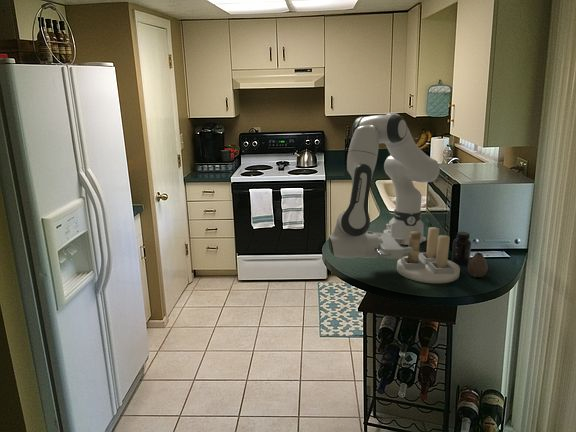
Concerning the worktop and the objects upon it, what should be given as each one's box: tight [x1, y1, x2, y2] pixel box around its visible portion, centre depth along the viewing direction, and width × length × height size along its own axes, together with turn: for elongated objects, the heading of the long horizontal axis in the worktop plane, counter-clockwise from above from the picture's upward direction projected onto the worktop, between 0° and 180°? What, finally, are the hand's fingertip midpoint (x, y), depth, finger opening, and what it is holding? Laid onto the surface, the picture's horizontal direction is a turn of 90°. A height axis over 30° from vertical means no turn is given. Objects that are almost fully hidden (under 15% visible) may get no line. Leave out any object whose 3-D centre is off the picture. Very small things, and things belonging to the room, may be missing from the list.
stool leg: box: [407, 231, 421, 263], centre depth 182 cm, size 4×4×13 cm
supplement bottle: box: [451, 231, 472, 265], centre depth 194 cm, size 7×7×12 cm
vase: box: [467, 252, 489, 278], centre depth 180 cm, size 7×7×9 cm
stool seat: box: [396, 226, 461, 284], centre depth 183 cm, size 23×23×16 cm
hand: (408, 245), depth 182 cm, fingers open, 8 cm apart
